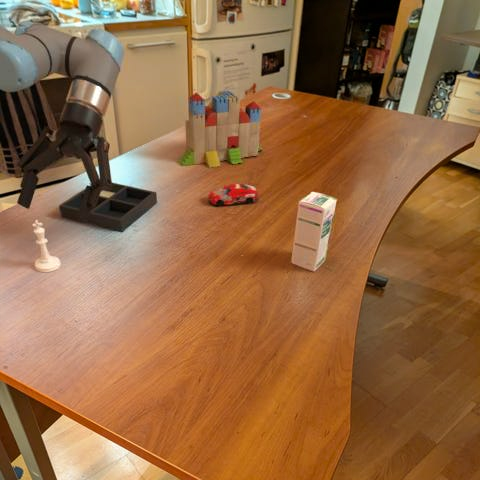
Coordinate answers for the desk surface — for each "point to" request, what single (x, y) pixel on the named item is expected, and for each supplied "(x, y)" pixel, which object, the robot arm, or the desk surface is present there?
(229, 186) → the race car
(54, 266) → the chess piece
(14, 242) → the desk surface
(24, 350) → the desk surface
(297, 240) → the syrup box
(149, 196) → the grid
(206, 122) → the block set
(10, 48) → the robot arm
